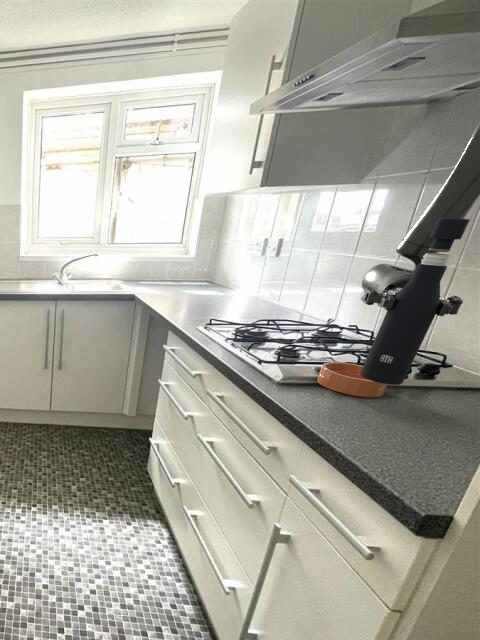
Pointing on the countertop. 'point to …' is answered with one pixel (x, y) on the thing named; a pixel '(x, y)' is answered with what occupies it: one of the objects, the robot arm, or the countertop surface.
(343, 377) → the bowl
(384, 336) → the dark water bottle
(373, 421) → the countertop surface
